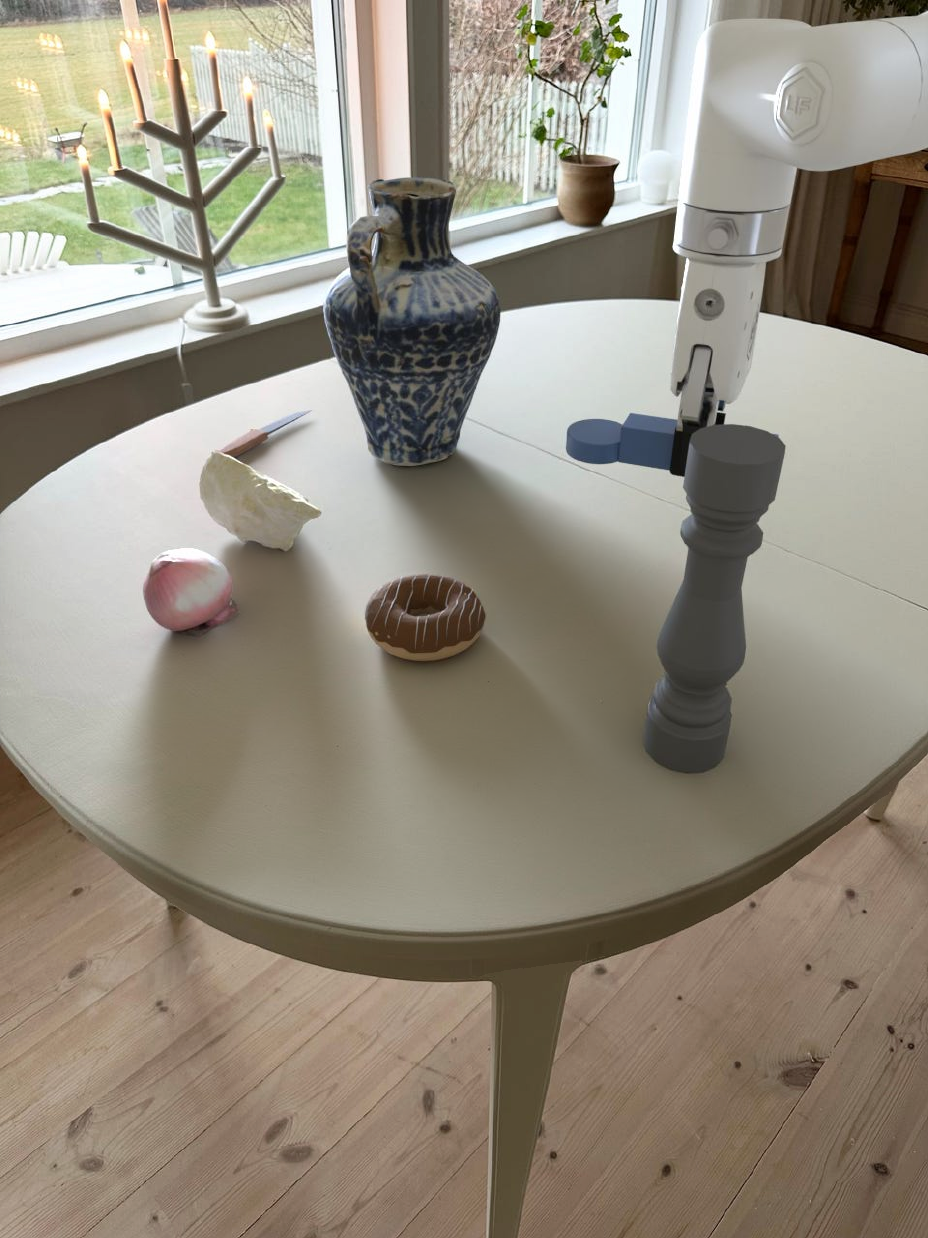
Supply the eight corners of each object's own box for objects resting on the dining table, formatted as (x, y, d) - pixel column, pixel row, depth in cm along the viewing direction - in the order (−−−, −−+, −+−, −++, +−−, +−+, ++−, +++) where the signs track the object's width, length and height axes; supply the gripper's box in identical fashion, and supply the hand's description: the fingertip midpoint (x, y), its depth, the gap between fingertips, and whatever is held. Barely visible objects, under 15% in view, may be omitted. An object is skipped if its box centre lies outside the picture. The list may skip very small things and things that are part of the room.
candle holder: (664, 780, 67) (715, 472, 53) (629, 725, 72) (668, 429, 58) (740, 763, 69) (811, 458, 54) (701, 710, 74) (756, 417, 59)
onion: (176, 592, 88) (160, 527, 84) (253, 600, 87) (241, 534, 82) (138, 643, 81) (119, 575, 77) (220, 651, 80) (206, 583, 76)
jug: (377, 409, 122) (360, 159, 104) (518, 428, 117) (525, 169, 99) (305, 478, 106) (271, 198, 89) (463, 504, 101) (461, 212, 83)
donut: (341, 636, 82) (337, 599, 80) (424, 586, 88) (423, 550, 86) (426, 688, 76) (425, 650, 74) (509, 630, 82) (510, 594, 80)
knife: (294, 401, 121) (312, 406, 120) (294, 409, 122) (312, 413, 121) (205, 450, 110) (224, 455, 109) (207, 458, 111) (226, 463, 109)
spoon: (773, 464, 76) (780, 428, 74) (764, 493, 72) (772, 455, 70) (575, 434, 81) (578, 399, 79) (558, 458, 77) (559, 422, 75)
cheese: (212, 521, 103) (148, 496, 88) (243, 463, 102) (184, 428, 88) (328, 585, 100) (283, 571, 86) (360, 526, 100) (321, 501, 85)
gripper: (768, 264, 57) (723, 521, 68) (798, 207, 70) (755, 433, 80) (649, 253, 60) (623, 503, 71) (698, 200, 72) (669, 420, 83)
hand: (694, 464), depth 75 cm, fingers closed on spoon, 3 cm apart
